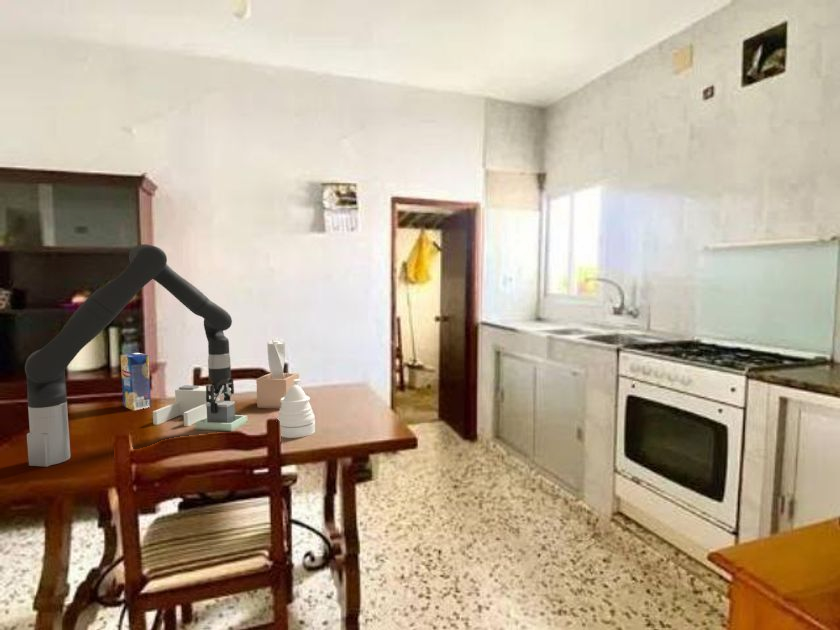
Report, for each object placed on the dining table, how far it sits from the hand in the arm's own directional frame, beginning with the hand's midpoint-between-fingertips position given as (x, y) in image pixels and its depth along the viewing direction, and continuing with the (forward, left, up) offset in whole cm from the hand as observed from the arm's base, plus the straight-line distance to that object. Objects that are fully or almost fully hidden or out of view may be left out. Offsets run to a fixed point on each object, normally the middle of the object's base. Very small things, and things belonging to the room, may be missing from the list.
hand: (221, 410), depth 184 cm
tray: (0, 0, -6) cm, 6 cm away
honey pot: (-3, -30, -6) cm, 31 cm away
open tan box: (+32, -7, -6) cm, 33 cm away
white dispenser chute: (+8, +19, -6) cm, 21 cm away
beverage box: (+20, +51, -6) cm, 55 cm away
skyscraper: (+32, -7, -6) cm, 33 cm away
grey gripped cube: (0, 0, -5) cm, 5 cm away
